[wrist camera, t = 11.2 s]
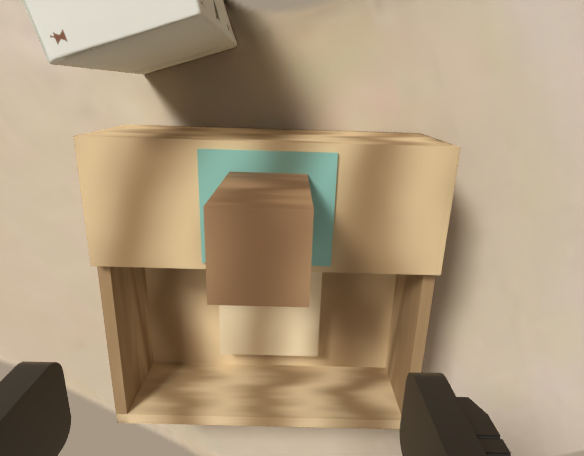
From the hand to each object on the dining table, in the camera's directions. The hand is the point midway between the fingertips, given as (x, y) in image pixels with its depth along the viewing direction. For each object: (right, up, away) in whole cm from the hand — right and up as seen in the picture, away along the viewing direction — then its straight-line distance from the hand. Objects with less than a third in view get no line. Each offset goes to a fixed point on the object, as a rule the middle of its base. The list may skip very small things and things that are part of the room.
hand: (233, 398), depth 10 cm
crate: (0, +1, +25) cm, 25 cm away
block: (0, +5, +15) cm, 16 cm away
